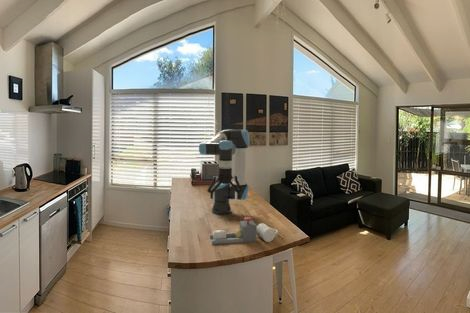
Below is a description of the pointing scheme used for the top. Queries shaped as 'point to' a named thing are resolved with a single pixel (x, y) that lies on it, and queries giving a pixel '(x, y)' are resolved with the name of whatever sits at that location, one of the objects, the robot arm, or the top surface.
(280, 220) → the top surface
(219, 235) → the fitting
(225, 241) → the valve rig
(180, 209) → the top surface
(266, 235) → the mug
